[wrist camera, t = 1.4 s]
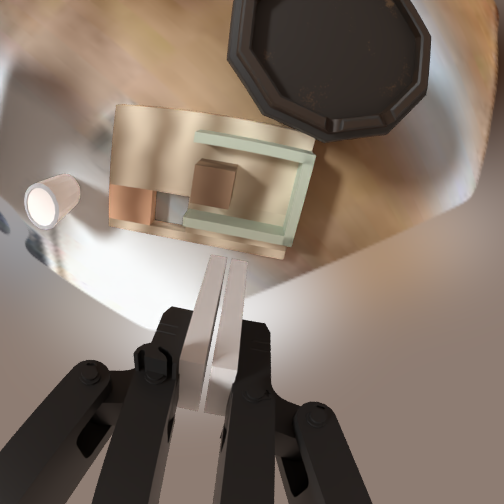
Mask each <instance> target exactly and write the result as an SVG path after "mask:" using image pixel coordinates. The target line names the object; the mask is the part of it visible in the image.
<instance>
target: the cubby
mask: <svg viewBox="0 0 504 504" xmlns="http://www.w3.org/2000/svg"><path fill="white" fill-rule="evenodd" d="M193 142H196V143H202V144H209V145H215V146H220V147H226V148H232V149H237V150H243V151H248V152H253V153H258V154H263V155H268V156H272V157H277V158H282V159H286V160H290V161H295V162H299V165H298V169H297V173H296V177H295V181H294V185H293V189H292V193H291V197H290V201H289V204H288V208H287V212H286V216H285V220H284V224H283V227H281V226H277V225H272V224H267V223H262V222H257V221H252V220H247V219H241V218H236V217H231V216H226V215H221V214H215V213H210V212H205V211H199V210H194V209H188V210H187V212H186V213H185V215H184V216H183V223H182V226H185V227H190V228H195V229H200V230H206V231H211V232H216V233H221V234H227V235H232V236H237V237H242V238H247V239H252V240H257V241H263V242H268V243H273V244H278V245H283V246H288V247H291V246H292V243H293V239H294V236H295V232H296V229H297V225H298V222H299V218H300V214H301V211H302V207H303V203H304V200H305V196H306V192H307V189H308V185H309V181H310V177H311V173H312V170H313V166H314V162H315V158H316V155H315V154H314V153H313V152H312V151H308V150H303V149H299V148H295V147H291V146H286V145H282V144H277V143H273V142H268V141H263V140H258V139H253V138H248V137H243V136H237V135H232V134H226V133H220V132H214V131H208V130H201V129H200V130H198V131H196V132H195V135H194V141H193Z"/></svg>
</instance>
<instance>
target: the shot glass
mask: <svg viewBox="0 0 504 504" xmlns="http://www.w3.org/2000/svg"><path fill="white" fill-rule="evenodd" d="M80 196H81V195H80V187H79V184H78V182H77V181H76V180H75V178H74V177H72V176H71V175H69V174H61V175H58V176H55V177H52V178H49V179H46V180H43V181H40V182H37V183H35V184H33V185H31V186H29V188H28V189H27V191H26V193H25V198H24V205H25V210H26V213H27V216H28V218H29V219H30V220H31V222H32V223H33V224H34V225H35V226H37V227H38V228H39V229H44V230H48V229H51V228H53V227H54V226H55V225H56V224H57V223H58V222H59V221H60V220H61V219H62V218H63V217H64V216H65V215H66V214H68V213H69V212H70V211H71V210H72V209H73V208H74V207H75V206H76V205H77V204H78V202H79V200H80Z"/></svg>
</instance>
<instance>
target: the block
mask: <svg viewBox="0 0 504 504" xmlns="http://www.w3.org/2000/svg"><path fill="white" fill-rule="evenodd" d="M237 169H238V164H232V163H227V162H221V161H216V160H210V159H204V158H201V159H200V160H199V161H198V162H197V163H196V164H195V168H194V174H193V181H192V189H191V196H190V203H193V204H199V205H204V206H210V207H215V208H221V209H226V210H229V206H230V203H231V200H232V195H233V190H234V185H235V179H236V174H237Z"/></svg>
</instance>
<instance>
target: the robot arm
mask: <svg viewBox="0 0 504 504" xmlns="http://www.w3.org/2000/svg"><path fill="white" fill-rule="evenodd" d="M226 261H227V258H226V257H221V256H216V255H211V257H210V260H209V263H208V266H207V269H206V272H205V276H204V279H203V282H202V285H201V288H200V292H199V295H198V298H197V301H196V305H195V308H194V311H191V310H186V309H182V308H177V307H170V308H169V309H168V310H167V311H166V312H164V313H163V315H162V318H161V320H160V323H159V325H158V328H157V331H156V333H155V335H154V337H153V340H152V342H151V343H148V344H144V345H142V346H140V347H138V348H137V349H136V351H135V352H134V363H135V368H134V369H131V370H125V371H109V370H108V368H107V367H106V366H105V365H104V364H103V363H101V362H98V361H95V360H86V361H82V362H80V363H78V364H77V365H76V366H74V367H73V369H72V370H71V371H70V372H69V373H68V374H67V375H66V376H65V377H64V378H63V379H62V381H61V382H60V383H59V384H58V385H57V386H56V387H55V388H54V389H53V391H52V392H51V393H50V394H49V395H48V396H47V397H46V398H45V400H44V401H43V402H42V403H41V404H40V405H39V406H38V407H37V409H36V410H35V411H34V412H33V413H32V414H31V416H30V417H29V418H28V419H27V420H26V421H25V423H24V424H23V425H22V426H21V427H20V428H19V430H18V431H17V432H16V433H15V434H14V436H13V437H12V438H11V439H10V440H9V442H8V443H7V444H6V445H5V446H4V448H3V449H2V450H1V451H0V504H65V503H66V502H67V500H68V499H69V497H70V496H71V494H72V493H73V491H74V490H75V488H76V487H77V485H78V484H79V482H80V481H81V479H82V478H83V476H84V475H85V473H86V472H87V470H88V469H89V467H90V466H91V465H92V463H93V462H94V460H95V459H96V457H97V456H98V454H99V453H100V451H101V450H102V448H103V447H104V445H105V444H106V442H107V441H108V440H109V438H110V437H111V435H112V434H113V435H112V438H111V441H110V444H109V447H108V450H107V453H106V457H105V460H104V463H103V466H102V469H101V473H100V476H99V479H98V483H97V486H96V490H95V493H94V497H93V501H92V504H158V503H159V498H160V492H161V486H162V482H163V476H164V471H165V466H166V461H167V456H168V451H169V446H170V441H171V437H172V432H173V427H174V422H175V412H176V407H179V408H184V409H189V410H194V411H198V409H199V403H200V398H201V393H202V387H203V382H204V377H205V372H206V366H207V361H208V356H209V351H210V346H211V341H212V335H213V331H214V326H215V320H216V315H217V311H218V306H219V301H220V295H221V289H222V284H223V278H224V273H225V267H226ZM247 264H248V262H247V261H242V260H236V259H232V260H231V265H230V270H229V275H228V281H227V286H226V291H225V296H224V302H223V307H222V313H221V318H220V324H219V329H218V334H217V340H216V345H215V351H214V357H213V362H212V368H211V374H210V379H209V385H208V391H207V398H206V403H205V409H204V413H210V414H215V415H221V416H225V423H224V426H223V430H222V433H221V436H220V438H221V445H220V452H219V460H218V467H217V475H216V483H215V490H214V498H213V504H274V477H275V475H274V474H275V456H276V460H277V463H278V467H279V471H280V474H281V478H282V481H283V485H284V489H285V492H286V496H287V499H288V502H289V504H372V502H371V499H370V497H369V494H368V492H367V489H366V487H365V485H364V483H363V480H362V477H361V475H360V473H359V470H358V468H357V465H356V463H355V461H354V458H353V456H352V453H351V451H350V449H349V446H348V444H347V441H346V439H345V437H344V434H343V432H342V430H341V427H340V425H339V423H338V420H337V418H336V415H335V414H334V412H333V411H332V409H331V408H329V407H328V406H327V405H325V404H322V403H319V402H308V403H305V404H303V405H302V406H299V405H296V404H293V403H290V402H288V401H286V400H284V399H282V398H281V397H279V396H278V395H277V394H276V393H275V391H274V390H273V388H272V385H271V353H270V351H271V345H270V332H269V330H268V328H267V326H266V324H265V323H259V322H253V321H248V320H242V316H243V306H244V295H245V285H246V275H247Z"/></svg>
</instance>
